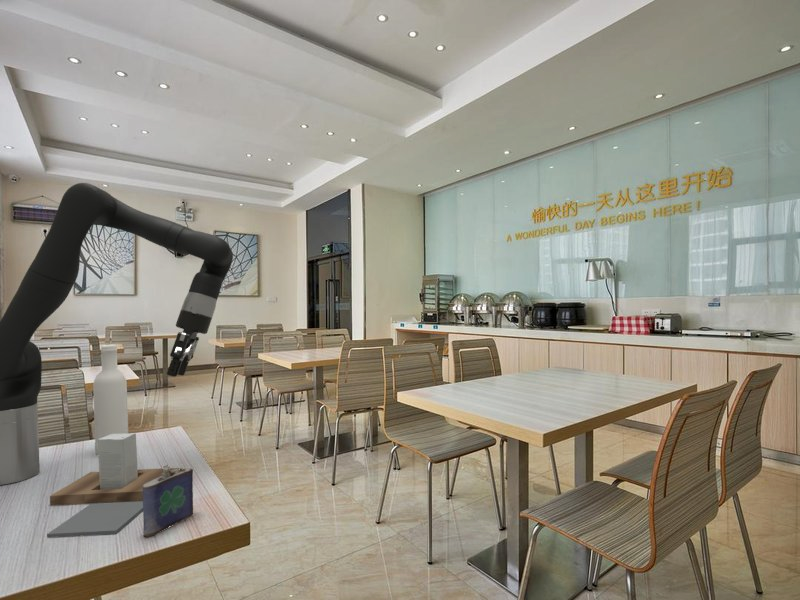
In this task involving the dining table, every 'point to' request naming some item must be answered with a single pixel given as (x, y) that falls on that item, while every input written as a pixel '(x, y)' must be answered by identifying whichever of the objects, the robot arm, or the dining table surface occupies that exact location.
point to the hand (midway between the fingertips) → (175, 375)
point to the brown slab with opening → (90, 492)
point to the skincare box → (117, 460)
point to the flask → (167, 500)
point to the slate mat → (99, 519)
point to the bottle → (110, 397)
